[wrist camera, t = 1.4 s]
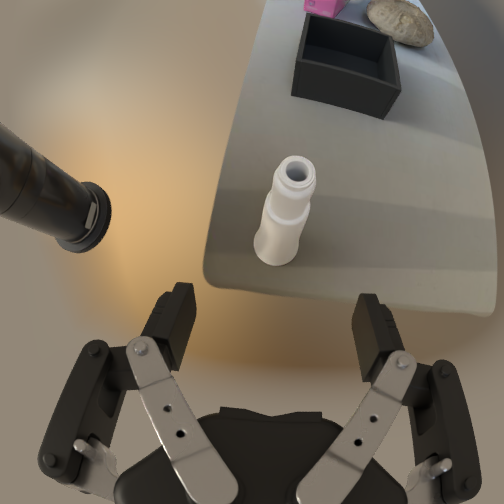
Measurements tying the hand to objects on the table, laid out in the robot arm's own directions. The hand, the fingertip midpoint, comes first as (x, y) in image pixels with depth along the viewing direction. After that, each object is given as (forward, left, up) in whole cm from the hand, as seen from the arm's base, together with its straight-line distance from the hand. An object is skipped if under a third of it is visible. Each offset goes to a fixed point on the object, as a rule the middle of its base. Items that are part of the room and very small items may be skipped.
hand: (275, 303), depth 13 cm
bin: (+6, +42, -24) cm, 48 cm away
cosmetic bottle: (0, +8, -24) cm, 25 cm away
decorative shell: (+20, +68, -24) cm, 75 cm away
